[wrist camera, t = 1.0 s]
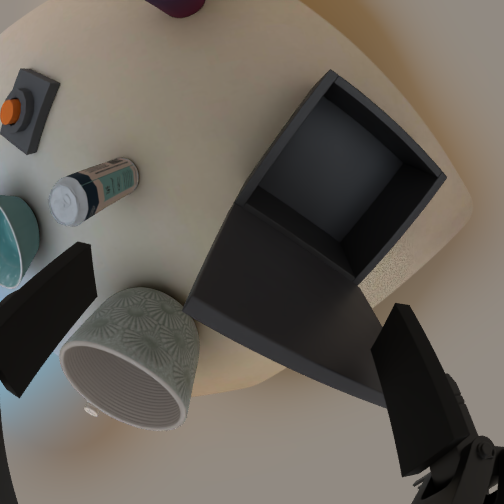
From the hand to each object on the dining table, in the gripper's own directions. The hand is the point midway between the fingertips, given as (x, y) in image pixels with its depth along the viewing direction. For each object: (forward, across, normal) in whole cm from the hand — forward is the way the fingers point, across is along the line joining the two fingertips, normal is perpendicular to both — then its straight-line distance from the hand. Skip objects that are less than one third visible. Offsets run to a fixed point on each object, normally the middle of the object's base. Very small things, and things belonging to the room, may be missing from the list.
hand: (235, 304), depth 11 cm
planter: (+22, -12, -22) cm, 33 cm away
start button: (+18, -36, +8) cm, 41 cm away
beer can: (+22, -17, -1) cm, 28 cm away
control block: (+22, -36, +8) cm, 43 cm away
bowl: (+22, -39, -11) cm, 46 cm away
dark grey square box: (+22, +7, +3) cm, 23 cm away
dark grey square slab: (+5, +5, -2) cm, 7 cm away
